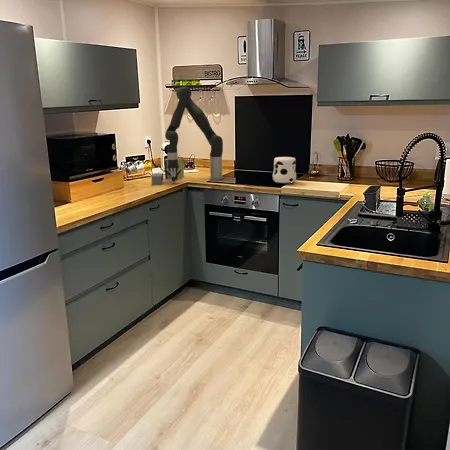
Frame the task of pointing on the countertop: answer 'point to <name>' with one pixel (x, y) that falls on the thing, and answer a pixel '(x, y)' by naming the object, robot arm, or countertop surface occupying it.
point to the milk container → (284, 170)
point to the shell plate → (167, 181)
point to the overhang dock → (157, 178)
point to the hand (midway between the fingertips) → (173, 181)
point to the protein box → (181, 166)
